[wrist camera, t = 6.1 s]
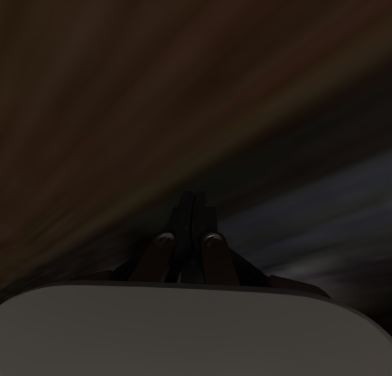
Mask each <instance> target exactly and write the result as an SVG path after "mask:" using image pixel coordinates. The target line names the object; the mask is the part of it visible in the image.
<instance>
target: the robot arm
mask: <svg viewBox="0 0 392 376" xmlns="http://www.w3.org/2000/svg"><path fill="white" fill-rule="evenodd" d="M193 251H194V259H195V261H196V263H197V267H198V268H199V270H200V271H201V272H202V273H203V282H204V284H187V283H180V280H181V276H182V270H183V269H184V268H185V267H187V266H189V262H190V261H192V260H193ZM0 376H392V337H391V336H390V335H389V334H388V333H387V332H386V331H385V330H384V329H383V328H382V327H380V326H379V325H378V324H377V323H376V322H374V321H373V320H372V319H370V318H369V317H367V316H366V315H364V314H363V313H361V312H359V311H357V310H355V309H353V308H351V307H349V306H347V305H345V304H343V303H340V302H338V301H336V300H333V299H331V297H330V296H329V295H328V294H327V293H326V292H325V291H323V290H322V289H320V288H319V287H316V286H314V285H310V284H306V283H302V282H298V281H294V280H290V279H286V278H282V277H278V276H274V275H271V276H266V275H264V274H263V273H262V272H261V271H260V270H259V269H257V268H256V267H255V266H253V265H252V264H251V263H249V262H248V261H247V260H245V259H244V258H243V257H241V256H240V255H239V254H237V253H236V252H235V251H233V250H232V249H231V248H229V247H228V245H227V242H226V239H225V237H224V236H223V235H222V234H221V233H219V232H218V229H217V217H216V207H206V191H199V192H198V193H196V196H195V198H194V193H192V192H191V191H184V194H183V198H182V201H181V205H180V208H174V209H173V212H172V215H171V218H170V221H169V224H168V227H167V230H166V231H163V232H160V233H158V234H157V235H155V237H154V238H153V239H152V241H151V243H150V244H149V246H148V248H147V249H146V250H145V251H143V252H142V253H140V254H138V255H137V256H135V257H134V258H132V259H130V260H129V261H127V262H126V263H124V264H122V265H121V266H119V267H118V268H116V269H115V270H114V271H111V270H106V271H101V272H96V273H91V274H86V275H81V276H76V277H73V278H71V279H69V280H68V281H63V282H56V283H52V284H47V285H43V286H40V287H37V288H33V289H30V290H28V291H25V292H23V293H20V294H18V295H16V296H14V297H12V298H10V299H9V300H7V301H5V302H4V303H3V304H1V305H0Z"/></svg>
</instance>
